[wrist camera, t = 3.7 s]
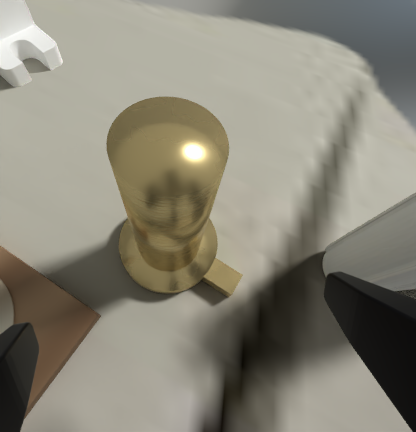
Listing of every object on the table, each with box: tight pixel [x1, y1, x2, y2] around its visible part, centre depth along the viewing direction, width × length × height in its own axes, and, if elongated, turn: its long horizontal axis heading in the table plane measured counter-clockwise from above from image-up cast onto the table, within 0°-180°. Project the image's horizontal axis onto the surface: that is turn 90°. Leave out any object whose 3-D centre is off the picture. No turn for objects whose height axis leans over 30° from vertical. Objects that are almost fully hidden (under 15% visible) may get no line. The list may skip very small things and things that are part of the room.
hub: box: [107, 97, 243, 297], centre depth 16 cm, size 9×7×12 cm
